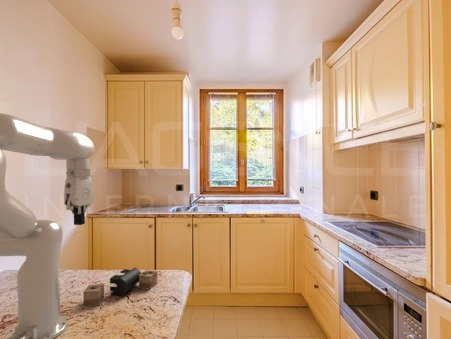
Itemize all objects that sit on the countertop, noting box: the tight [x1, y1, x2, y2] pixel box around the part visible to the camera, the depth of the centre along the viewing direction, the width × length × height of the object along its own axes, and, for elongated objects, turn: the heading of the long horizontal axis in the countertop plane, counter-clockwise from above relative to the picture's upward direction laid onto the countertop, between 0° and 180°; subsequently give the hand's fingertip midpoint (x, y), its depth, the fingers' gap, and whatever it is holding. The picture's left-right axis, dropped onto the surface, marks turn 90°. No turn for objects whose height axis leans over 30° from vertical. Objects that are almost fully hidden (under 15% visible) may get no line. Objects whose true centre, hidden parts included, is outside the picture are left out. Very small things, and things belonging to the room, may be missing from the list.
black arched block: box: [109, 267, 142, 297], centre depth 96 cm, size 10×7×7 cm
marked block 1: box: [82, 283, 105, 308], centre depth 88 cm, size 5×5×5 cm
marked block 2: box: [138, 269, 158, 290], centre depth 99 cm, size 5×5×5 cm
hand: (79, 224), depth 93 cm, fingers closed
